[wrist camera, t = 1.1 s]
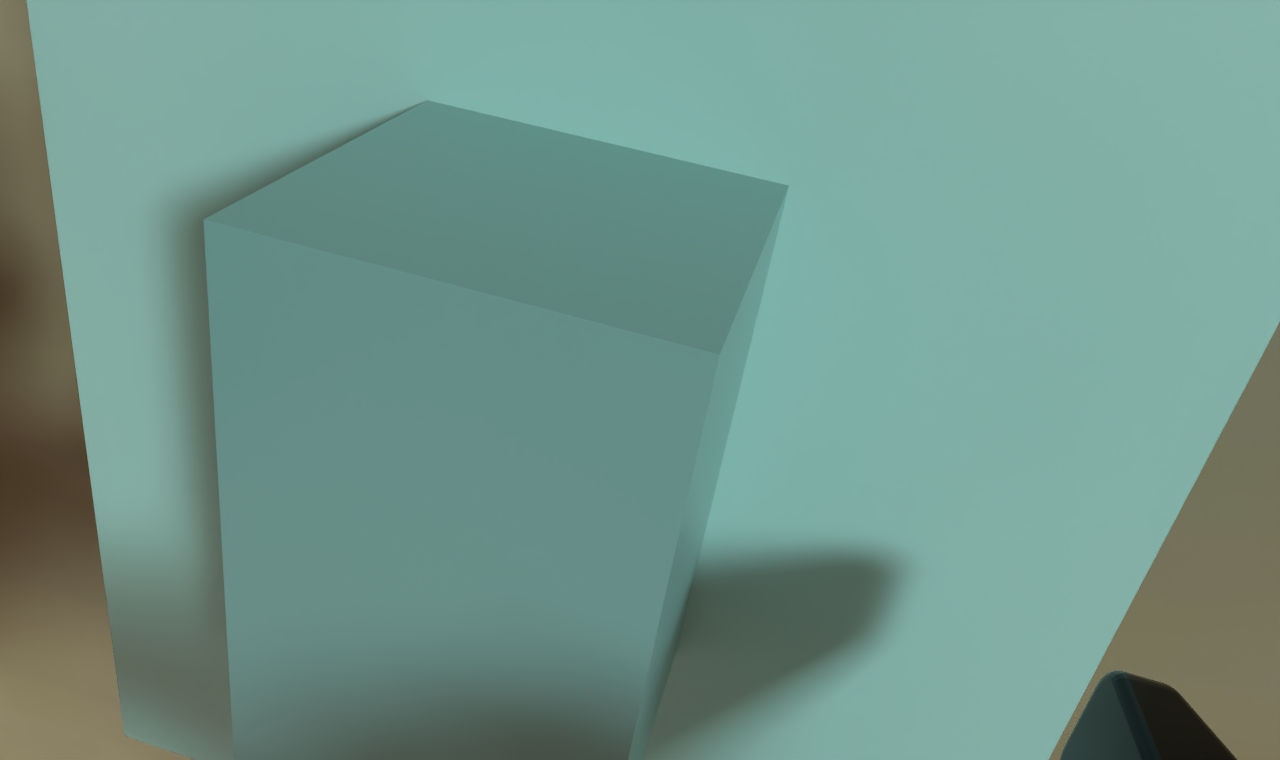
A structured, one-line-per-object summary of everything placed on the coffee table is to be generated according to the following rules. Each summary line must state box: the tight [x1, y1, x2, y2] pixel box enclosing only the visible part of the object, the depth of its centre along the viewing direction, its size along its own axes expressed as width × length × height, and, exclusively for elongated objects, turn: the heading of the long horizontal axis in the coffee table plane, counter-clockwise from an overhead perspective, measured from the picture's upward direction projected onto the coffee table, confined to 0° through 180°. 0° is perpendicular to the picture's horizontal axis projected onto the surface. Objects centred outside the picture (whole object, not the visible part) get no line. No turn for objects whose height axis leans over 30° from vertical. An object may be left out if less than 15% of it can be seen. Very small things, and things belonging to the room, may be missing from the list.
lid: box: [27, 0, 1280, 760], centre depth 9 cm, size 13×10×6 cm
